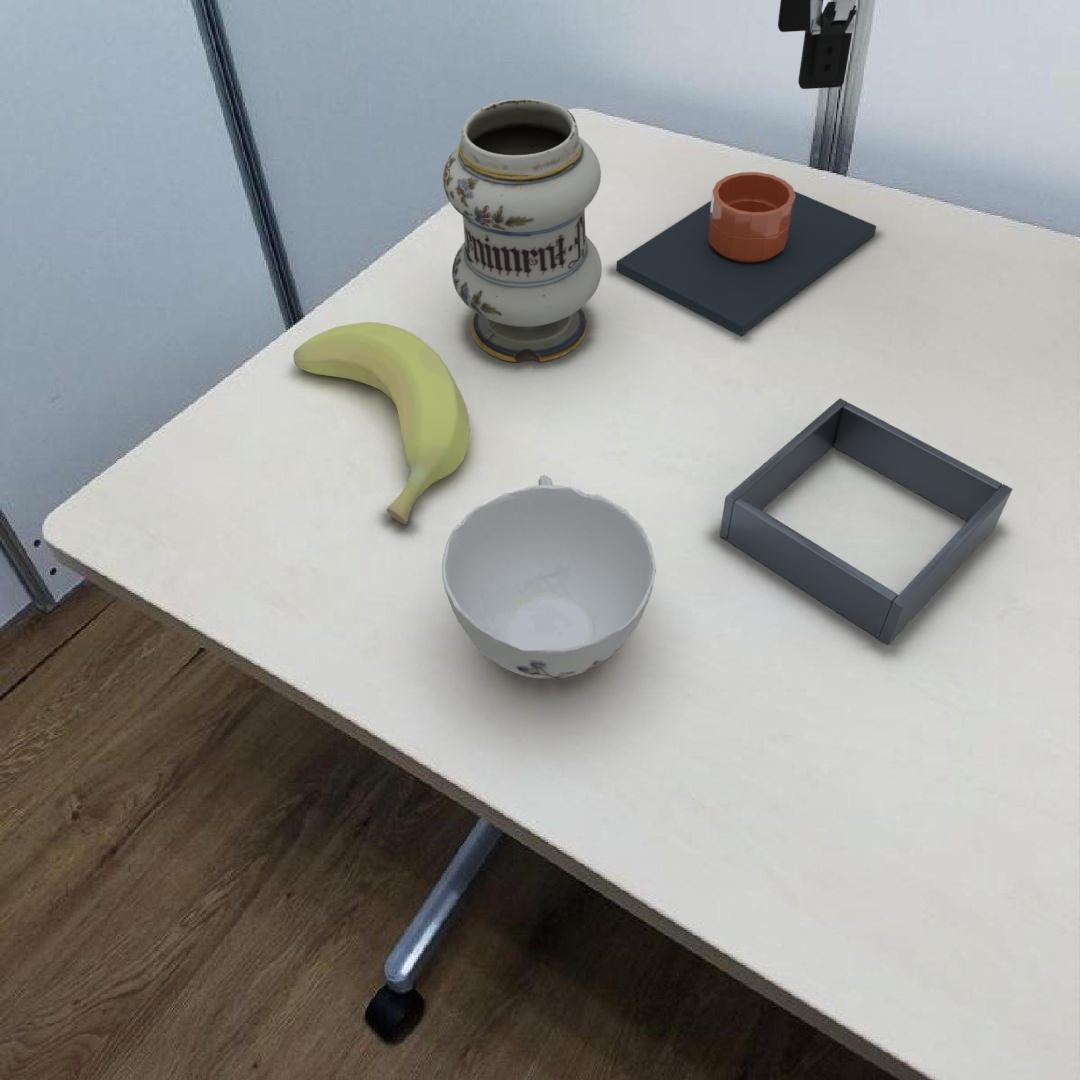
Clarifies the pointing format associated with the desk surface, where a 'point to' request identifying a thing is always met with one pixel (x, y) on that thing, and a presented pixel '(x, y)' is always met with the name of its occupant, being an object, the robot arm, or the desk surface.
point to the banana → (400, 395)
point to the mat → (744, 264)
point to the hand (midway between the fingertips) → (808, 56)
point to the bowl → (750, 216)
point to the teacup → (548, 579)
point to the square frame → (896, 460)
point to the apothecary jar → (524, 228)
